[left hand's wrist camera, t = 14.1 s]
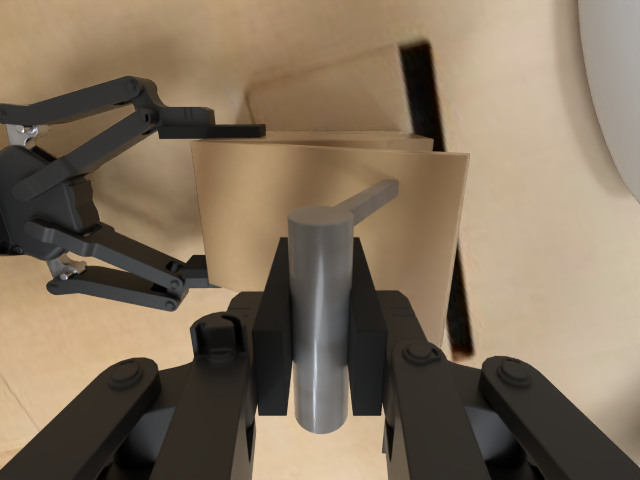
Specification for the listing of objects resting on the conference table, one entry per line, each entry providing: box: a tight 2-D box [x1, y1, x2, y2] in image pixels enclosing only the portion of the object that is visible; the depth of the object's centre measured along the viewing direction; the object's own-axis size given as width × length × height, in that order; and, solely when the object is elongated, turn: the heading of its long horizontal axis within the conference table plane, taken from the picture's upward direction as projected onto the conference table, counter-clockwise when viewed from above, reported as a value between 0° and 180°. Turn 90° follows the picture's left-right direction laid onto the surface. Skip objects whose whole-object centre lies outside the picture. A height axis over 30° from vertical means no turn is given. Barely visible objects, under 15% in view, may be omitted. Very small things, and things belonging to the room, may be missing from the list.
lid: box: [191, 140, 470, 434], centre depth 16 cm, size 15×9×8 cm, turn 93°
